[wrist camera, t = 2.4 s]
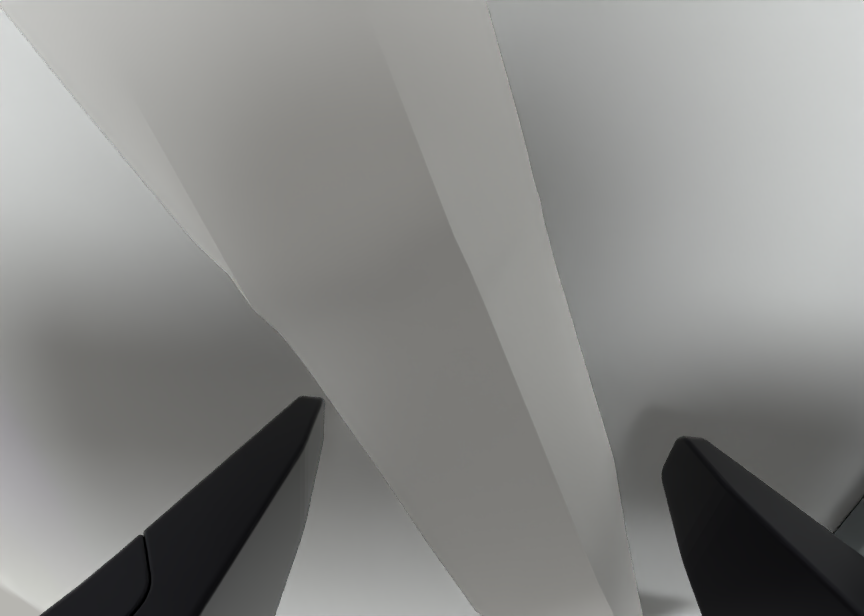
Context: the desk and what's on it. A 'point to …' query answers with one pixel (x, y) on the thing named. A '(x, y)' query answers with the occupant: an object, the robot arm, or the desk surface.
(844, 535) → the razor tray
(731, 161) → the desk surface
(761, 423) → the desk surface
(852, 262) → the desk surface
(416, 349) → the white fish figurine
